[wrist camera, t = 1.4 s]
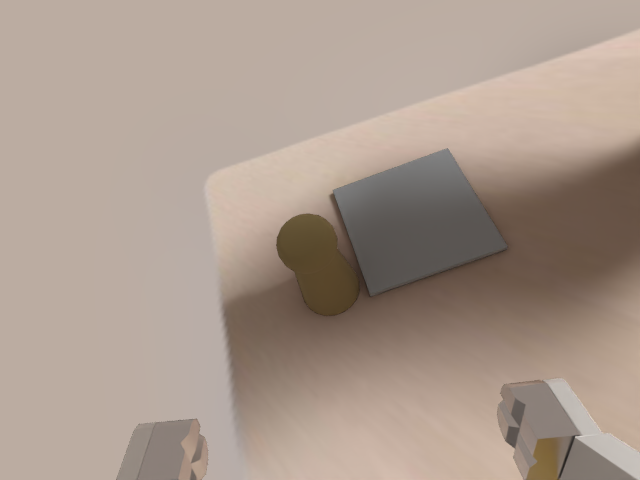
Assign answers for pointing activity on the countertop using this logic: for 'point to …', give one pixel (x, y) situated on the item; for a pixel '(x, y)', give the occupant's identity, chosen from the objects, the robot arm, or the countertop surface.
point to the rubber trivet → (415, 222)
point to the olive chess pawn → (318, 264)
